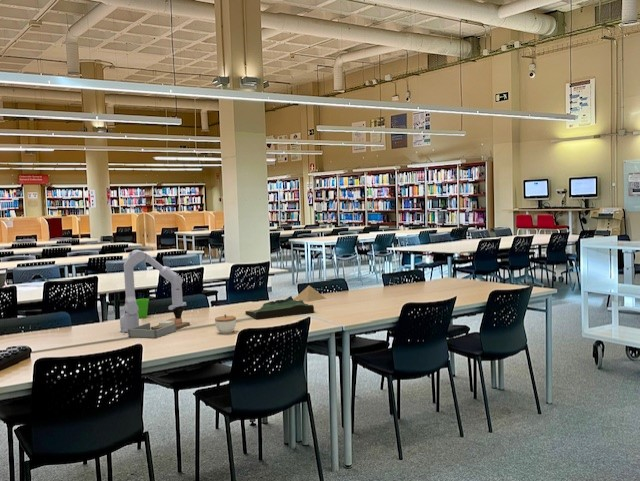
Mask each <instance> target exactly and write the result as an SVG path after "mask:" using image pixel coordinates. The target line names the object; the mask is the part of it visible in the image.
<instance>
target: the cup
mask: <svg viewBox="0 0 640 481" xmlns="http://www.w3.org/2000/svg"><path fill="white" fill-rule="evenodd" d="M149 301H150V298H138V299H136V304H137V305H138V308H139V309H138V312H137V313H138V315H139V319H147V317H148V311H149V310H148V309H149Z"/></svg>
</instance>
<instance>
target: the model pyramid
mask: <svg viewBox="0 0 640 481" xmlns="http://www.w3.org/2000/svg"><path fill="white" fill-rule="evenodd" d="M293 299H294V300H296V301H299V300H302V301H303V302H307V303H308V302H309V303H310V302H313V301H320V300H326V299H327V298H326V297H325V296H324V295H322V294H321V293H320V292H319V291H317V290H316V289H315V288H313V287H312V286H311V285H308V286H306V288H304V289H303V290H302V291H301V292H300V293H299V294H297V296H295V297H294V298H293Z"/></svg>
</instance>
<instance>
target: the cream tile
mask: <svg viewBox="0 0 640 481" xmlns="http://www.w3.org/2000/svg"><path fill="white" fill-rule="evenodd" d="M171 324H175V321H166V320H163V321H160V322H158V325H159V327H166V326H169V325H171Z"/></svg>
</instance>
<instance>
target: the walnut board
mask: <svg viewBox="0 0 640 481" xmlns="http://www.w3.org/2000/svg"><path fill="white" fill-rule="evenodd" d="M190 325H191V324H190V322H185V321H184V322H183V321H182V323H180V324H177V325H175V329H176V331H177V330H180V329H183V328H186V327H188V326H190ZM160 328H163V327H159V324H158V325H157V324H156V325H155V326H150V330H157V329H160Z"/></svg>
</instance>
